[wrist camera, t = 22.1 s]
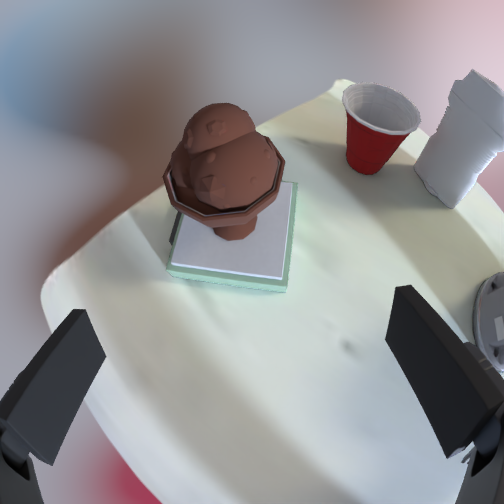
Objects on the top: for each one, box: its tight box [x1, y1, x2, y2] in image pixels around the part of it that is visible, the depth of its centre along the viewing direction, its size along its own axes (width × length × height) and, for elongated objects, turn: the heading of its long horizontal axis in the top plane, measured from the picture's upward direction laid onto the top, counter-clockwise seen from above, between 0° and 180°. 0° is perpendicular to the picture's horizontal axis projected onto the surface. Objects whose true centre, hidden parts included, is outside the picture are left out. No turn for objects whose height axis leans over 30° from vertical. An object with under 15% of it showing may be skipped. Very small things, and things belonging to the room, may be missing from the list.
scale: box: [166, 181, 298, 293], centre depth 34 cm, size 15×14×3 cm
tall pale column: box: [414, 69, 504, 209], centre depth 27 cm, size 11×4×22 cm, turn 32°
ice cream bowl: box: [163, 103, 285, 241], centre depth 26 cm, size 11×11×15 cm
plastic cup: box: [342, 83, 421, 175], centre depth 34 cm, size 11×11×12 cm
